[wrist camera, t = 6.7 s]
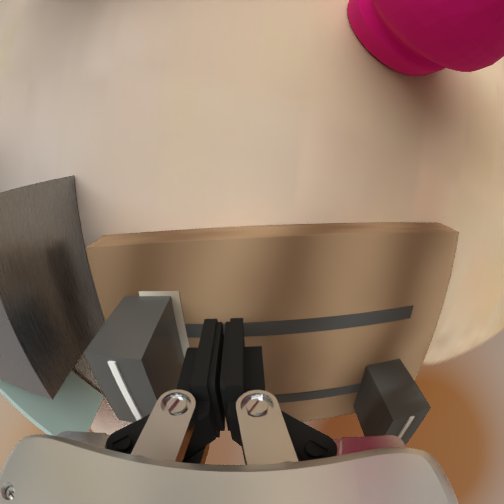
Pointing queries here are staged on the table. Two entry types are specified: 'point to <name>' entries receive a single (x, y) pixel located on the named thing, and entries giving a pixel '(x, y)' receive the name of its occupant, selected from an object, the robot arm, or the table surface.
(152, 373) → the fader knob
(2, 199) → the box
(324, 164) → the table surface
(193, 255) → the fader board
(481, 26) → the pepper mill
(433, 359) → the table surface
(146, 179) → the table surface
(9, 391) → the door
